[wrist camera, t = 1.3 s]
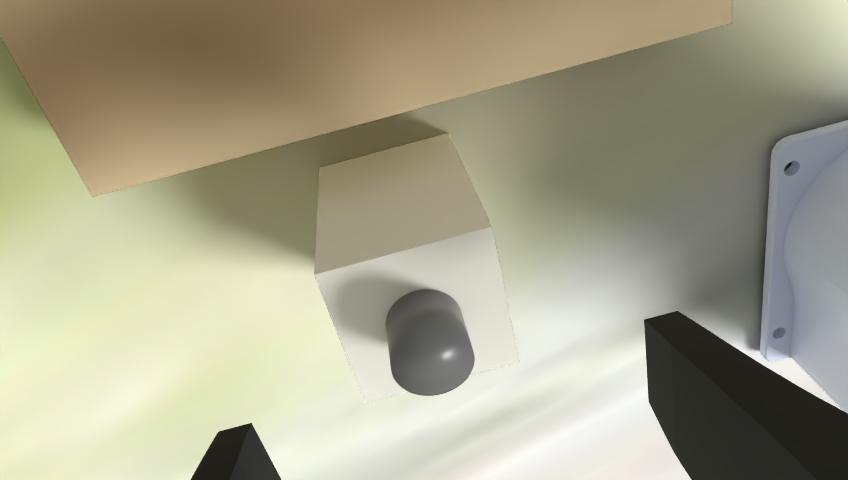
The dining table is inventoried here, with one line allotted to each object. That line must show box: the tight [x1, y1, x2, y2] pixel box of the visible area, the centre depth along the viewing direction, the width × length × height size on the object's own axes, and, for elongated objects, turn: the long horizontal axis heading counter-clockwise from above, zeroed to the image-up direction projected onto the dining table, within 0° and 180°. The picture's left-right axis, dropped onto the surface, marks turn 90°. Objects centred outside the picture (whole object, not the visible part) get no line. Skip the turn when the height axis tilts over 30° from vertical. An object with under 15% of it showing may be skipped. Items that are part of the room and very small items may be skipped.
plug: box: [314, 133, 520, 404], centre depth 16 cm, size 4×4×8 cm
